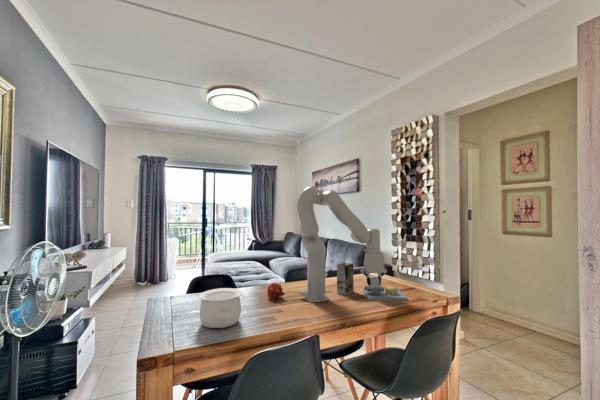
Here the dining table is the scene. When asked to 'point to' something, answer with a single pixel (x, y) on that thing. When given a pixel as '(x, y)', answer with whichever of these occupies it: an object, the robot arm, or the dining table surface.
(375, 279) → the gear
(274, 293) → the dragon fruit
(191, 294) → the dining table surface
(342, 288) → the coffee box
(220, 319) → the pot
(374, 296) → the carrier
